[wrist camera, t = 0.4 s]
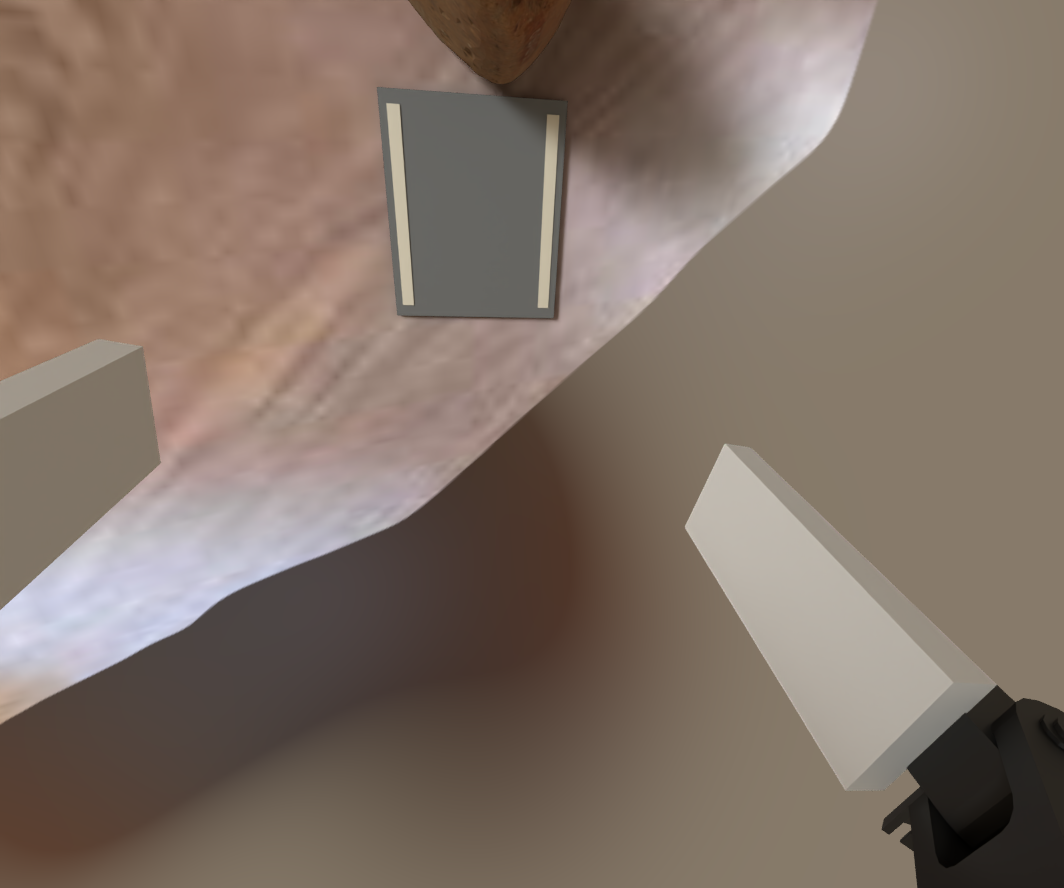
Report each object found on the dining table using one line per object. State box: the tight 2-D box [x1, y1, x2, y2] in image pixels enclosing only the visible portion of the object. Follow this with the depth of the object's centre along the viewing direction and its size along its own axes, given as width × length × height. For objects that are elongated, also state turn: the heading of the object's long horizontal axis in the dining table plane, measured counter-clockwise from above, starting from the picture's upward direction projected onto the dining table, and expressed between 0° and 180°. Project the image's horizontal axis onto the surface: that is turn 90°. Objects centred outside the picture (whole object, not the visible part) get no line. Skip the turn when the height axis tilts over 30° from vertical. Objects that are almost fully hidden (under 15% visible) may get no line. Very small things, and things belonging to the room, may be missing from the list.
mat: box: [377, 87, 568, 318], centre depth 33 cm, size 14×12×1 cm
